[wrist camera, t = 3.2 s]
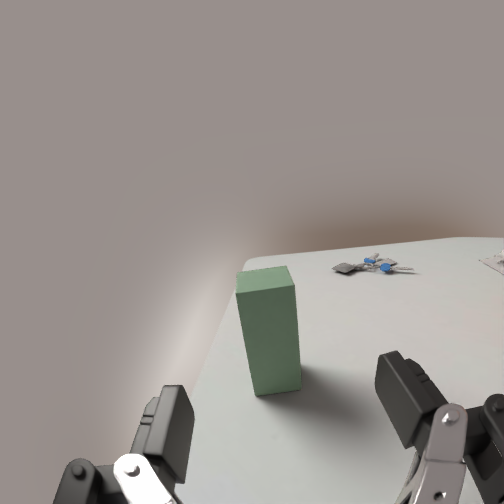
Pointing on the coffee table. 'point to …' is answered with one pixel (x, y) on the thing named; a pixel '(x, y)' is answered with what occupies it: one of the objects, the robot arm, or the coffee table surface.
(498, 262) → the small white envelope
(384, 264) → the key chain
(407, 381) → the robot arm
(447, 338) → the coffee table surface
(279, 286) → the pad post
